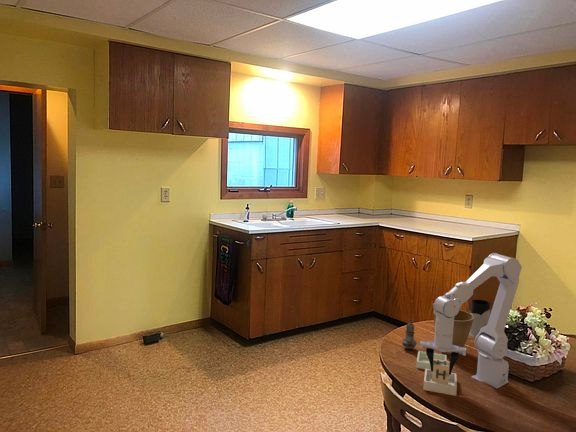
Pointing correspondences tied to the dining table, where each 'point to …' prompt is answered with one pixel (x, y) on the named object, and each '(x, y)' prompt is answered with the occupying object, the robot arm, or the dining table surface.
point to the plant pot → (460, 328)
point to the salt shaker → (409, 337)
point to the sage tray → (424, 361)
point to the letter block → (440, 371)
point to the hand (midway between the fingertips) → (440, 371)
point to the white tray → (440, 384)
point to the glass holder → (479, 315)
